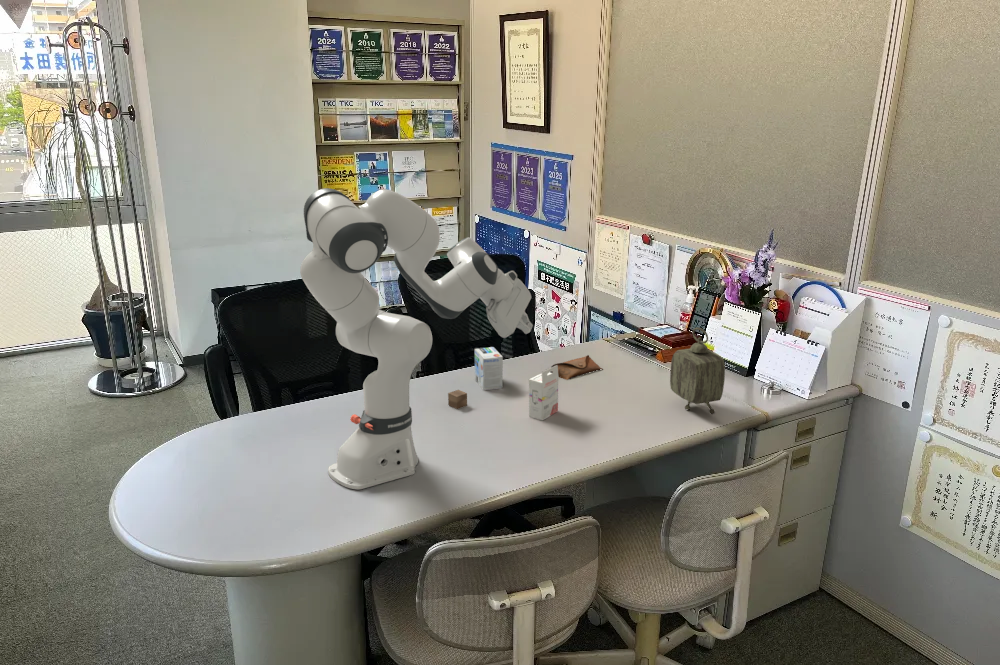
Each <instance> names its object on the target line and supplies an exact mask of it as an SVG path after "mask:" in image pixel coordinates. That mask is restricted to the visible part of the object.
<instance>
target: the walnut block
mask: <svg viewBox="0 0 1000 665" xmlns="http://www.w3.org/2000/svg"><path fill="white" fill-rule="evenodd" d="M447 398H448V399H447V401H448V404H447V406H448V405H449V407H451V408H454V409H455V410H459V409H462V408H464V407H467V406H468V393H467V392H466V391H463V390H460V389H457V390H456V389H455V390H453V391H450V392H448V393H447Z"/></svg>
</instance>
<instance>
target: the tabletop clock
mask: <svg viewBox="0 0 1000 665" xmlns="http://www.w3.org/2000/svg"><path fill="white" fill-rule="evenodd" d="M697 330H698V331H701V332H702V333H703V334H704V335H705V338H706V340H702V339H703V338H702V337H700V336H699V337H697V336H696V335H695V331H697ZM692 337H693V339H694V340H695V341H696V342H695V343H693V344H692V345H691V346H690V348H684V349H678V350H676V351H675V352H674V353H673V355H672V358H671V364H670V377H669V378H670V379H669V386H670V389H671V392H673V393H674V394H676V395H677V396H679V397H680V398H682V399H683V400H686V401H687V404H686V405H685V406H684V409H685V410H686V409H690V410H691V408H692V407H691V406H690V405H691V403H693V404H694V405H700V404H705V405H706V406H707V408H708V409H709V411H708V412H709V414H710V413H711V414H710V415H715V412H716V410H715V408H712V407H711V405H710V403H711V402H716V401H717V402H718V401H720V400H721V399H722V396H723V393H724V386H725V378H726V377H725V376H726V363H725V360H724V359H723V357H722V356H721V355H719V354H718V353H716V352H715V351H713V350H711V349H709V348H708V346H707V345H706V343H708V341H709V336H708V333H707V331H706V330H705V329H703V328H701V327H695V328H693V330H692Z"/></svg>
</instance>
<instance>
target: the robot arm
mask: <svg viewBox="0 0 1000 665" xmlns="http://www.w3.org/2000/svg"><path fill="white" fill-rule="evenodd" d="M303 218H304V224H305V232H306V239H307V241H310V242H312V244H313V246H312V250H311V251H310V252H309V253H308V254H307V255H306V256H305V257H304V259H303V260H302V261H301V263H300V277H301V279H302V281H303V282H304V284H305V286H306V288H307V289H308V290H309V291H308V292H310V294H311V295H312V296H313V297H314V299H315V300H316V301H317V302H318V304H319V305H320V306H322V308H323V309H324V310H325V311H326V312H327V313H328V314H329V315H330V316H331V317H332V318H333V319H334V320H335V322H336V326H335V336H336V339H337V341H338V343H339V344H340V345H341V346H342V347H344V348H345V349H348V350H349V351H352V352H354V353H356V354H361V355H365V356H369V357H374V358H377V360H378V361H377V362H378V365H377V370H374V371H373V372H371V373H370V374H368V375H367V377H366V378H365V379H364V381H363V384H362V388H363V389H362V391H363V408H364V409H363V410H362V414H361V416H358V415H357V414H352V415H351V416H350V422H351V423H354V424H355V425H358V427H357V428H356V430H354V432H353V433H352V434H351V435H350V436H349V437H348V438H347V439H346V440H345V441H344V442H343V444H342V445H340V447H339V448H338V450H337V451H338V452H337V457H336V462H335V463H333V464H331V465H329V466H328V476H329V477H330V478H331V479H332V480H333V481H334V482H336V483H337V484H339V485H341V486H343V487H345V488H348V489H353V490H362V489H363V490H364V489H366V488H370V487H373V486H378V485H380V484H384V483H387V482H391V481H394V480H398V479H401V478H406V477H408V476H413V475H414V474H415V473H416V466H417V465H418V463H419V457H418V455H417V454H418V453H417V451H416V447H415V443H414V439H413V431H412V423H413V412H412V411H413V410H412V407H411V406H410V385H411V384H410V382H411V378H412V373H413V371H414V369H415V368H416V366H417V365H418V364H419V363H420V362H422V361H423V360H424V359H425V358H426V357H427V356H428V355H429V353H430V351H431V349H432V345H433V335H432V331H431V328H430V326H429V325H428V323H425V322H424V321H421V320H419V319H416V318H414V317H412V316H409V315H403V314H397V313H391V312H387V311H384V310H382V309H379V307H380V295H379V293H378V291H377V290H376V289H375V288H374V286H372V284H371V282H369V281H368V280H367V278H366V277H365V276H364V275H363V274H362V272H366V271H367V270H369V269H371V267H373V266H374V265H375V264H376V263H377V262H378V261H379V259H380V258H381V256H382V255H383V253H384V252H385V251H386V250H387V247H388V248H390V249H391V250H393V251H394V252H395V254H394V257H393V260H394V264H395V267H396V268H397V270H398V272H399V273H400V274H401V275H402V277H403V278H404V279H405V281H407V283H408V284H409V285H410V286H411V287H412V288H413V289H414V290H415V291H416V292H417V293H418V295H420V296H421V297H422V298H423V299H424V300H425V301H426V302H427V303H428V304H429V306H430V307H431V309H432V310H433V311H434V313H436V314H437V316H439V317H440V318H442V319H447V320H449V319H450V320H453V319H456V318H458V316H460V315H461V313H463V312H464V311H465V310H466V309H467V308H468V307H469V306H471V305H473V303H474V302H476V301H477V300H479V299H480V300H481V301H482V303H483V304H485V306H486V308H485V310H486V316H487V319H488V321H489V323H490V324H491V327H492V328H493V329H494V330H495V331H496V333H497V334H498V336H500V337H501V338H503V339H506V338H507V337H510V336H511V335H513V334H514V333H515V330H516V329H519V330H521V331H522V332H523V334H525V335H527V334H529V333H530V332H531V331H532V328H533V326H534V325H533V323H532V322H531V321H530V319H529V316H528V314H527V313H526V309H527V307H528V306H529V303H530V301H531V299H532V294H531V292H530V290H529V289H528V287H527V286H526V285H525V284H524V283H523V281H522V280H521V279H519V278H518V274H517V273H516V272H515V270H510V271H508V272H506V273H504V271H503V270H502V269H500V268H499V267H498V264H497V263H496V262H495V260H494V259H493V258H492V257H491V256H490V254H488V253H487V252H486V251H485V250H484V249H483V247H482V246H480V245H479V244H478V243H477V242H476V241H475V240H474V239H472V238H471V237H470V236H469V237H468V236H467V237H463V239H461V240H460V241H458V242H456V243H455V244H454V245H453V246H452V247H450V249H448V251H447V253H446V256H447V258H448V260H449V262H451V264H452V266H453V268H452V269H451V270H450V271H449V272H447V273H446V274H444V275H443V276H442V277H441V278H438V279H437V280H433V279H432V278H431V277H430V276H429V275H428V274H427V272H425V270H426V267H427V266H428V264H429V262H430V261H431V260H432V259H433V257H434V256H435V255H436V253H437V251H438V247H439V244H440V239H441V238H440V236H441V233H440V228H439V225H438V222H436V221H437V220H435V219H434V218H433V217H432V215H431V214H429V213H428V211H426V210H425V209H423V208H422V207H421V206H420V205H419V204H417V203H416V202H415V201H413V200H411V199H410V198H408V197H406V196H404V195H402V194H401V193H399V192H396V191H394V190H391V189H380V190H377V191H375V192H374V193H372V194H371V195H369V197H368V198H367V199H366V201H365V203H364V204H362V205H361V204H360V205H358V206H356V204H354V202H352V200H351V199H350V198H349V197H348V195H346V194H345V193H343V192H341V191H339V190H337V189H334V188H328V187H327V188H321V189H318V190H316V191H314V192H313V193H312V194H310V195H309V196H308V198H307V199H306V201H305V203H304V205H303Z"/></svg>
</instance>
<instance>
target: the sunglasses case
mask: <svg viewBox="0 0 1000 665" xmlns="http://www.w3.org/2000/svg"><path fill="white" fill-rule="evenodd" d="M556 365H558V375H559V376H558V378H561V379H563V380H566V381H569V380H571V379H575V378H577V377H580V376H583V374H584V375H587V374H590V373H589V372H591V373H594V372H597V371H596V370H598V371H601V370H600V369H602V370H603V368H602V367H601V366H599V365H598V363H596V361H594V360H593V359H592V358H591V357H590V355H588V354H587V355H585V356H582V357H578V358H574V359H571V360H566V361H564V362H559V363H554V364H553V365H552V366H551V367H554V366H556ZM593 371H594V372H593ZM550 373H553V371H550ZM586 373H587V374H586Z"/></svg>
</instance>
